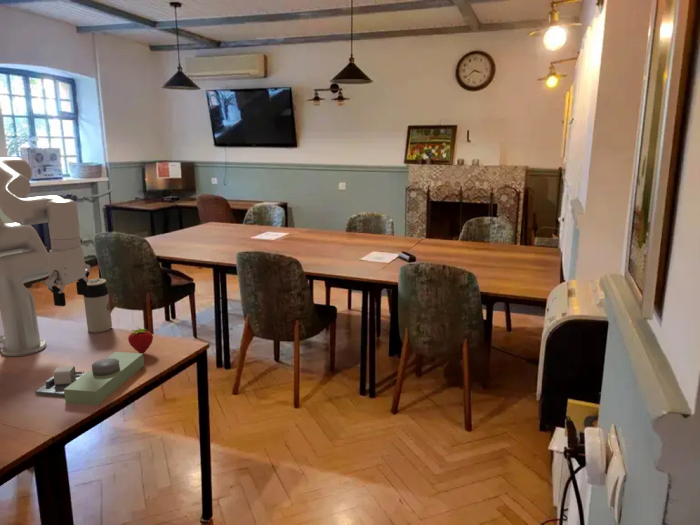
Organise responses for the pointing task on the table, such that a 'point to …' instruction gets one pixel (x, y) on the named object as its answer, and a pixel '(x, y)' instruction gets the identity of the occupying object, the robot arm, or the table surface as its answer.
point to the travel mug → (97, 306)
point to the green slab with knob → (103, 378)
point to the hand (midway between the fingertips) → (71, 300)
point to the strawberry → (140, 340)
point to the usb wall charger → (65, 375)
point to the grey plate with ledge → (53, 388)
